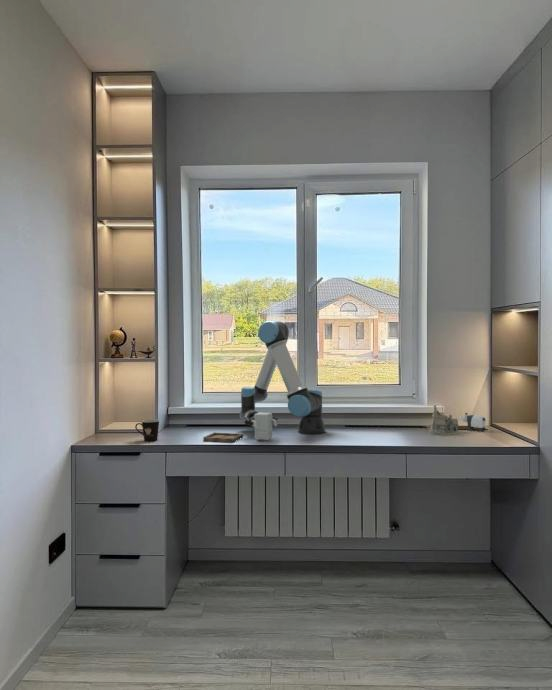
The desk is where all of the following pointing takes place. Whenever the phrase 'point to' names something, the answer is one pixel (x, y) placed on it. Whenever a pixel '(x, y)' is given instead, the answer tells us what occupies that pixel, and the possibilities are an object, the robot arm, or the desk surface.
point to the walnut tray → (222, 437)
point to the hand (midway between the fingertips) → (266, 423)
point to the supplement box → (263, 425)
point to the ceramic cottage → (443, 424)
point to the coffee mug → (149, 430)
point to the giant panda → (474, 421)
